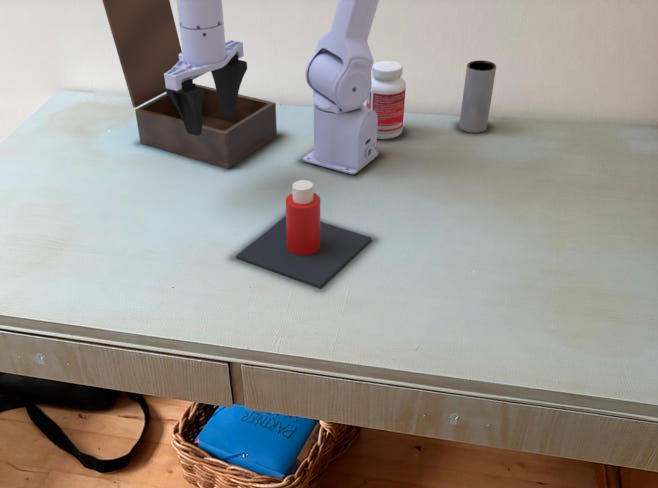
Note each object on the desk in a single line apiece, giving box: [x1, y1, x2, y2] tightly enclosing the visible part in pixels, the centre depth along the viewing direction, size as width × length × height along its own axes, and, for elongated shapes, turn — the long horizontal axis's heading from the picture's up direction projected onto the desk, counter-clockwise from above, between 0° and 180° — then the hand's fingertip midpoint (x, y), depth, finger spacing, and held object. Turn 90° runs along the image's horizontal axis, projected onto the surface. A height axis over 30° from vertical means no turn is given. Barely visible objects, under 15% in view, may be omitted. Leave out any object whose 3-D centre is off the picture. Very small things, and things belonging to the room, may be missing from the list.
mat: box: [235, 215, 372, 289], centre depth 99 cm, size 13×13×1 cm
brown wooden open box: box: [134, 83, 278, 170], centre depth 124 cm, size 19×14×6 cm
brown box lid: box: [101, 0, 183, 109], centre depth 121 cm, size 19×14×4 cm
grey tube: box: [459, 59, 497, 134], centre depth 122 cm, size 4×4×10 cm
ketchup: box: [285, 179, 321, 255], centre depth 96 cm, size 4×4×9 cm
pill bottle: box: [365, 60, 407, 140], centre depth 122 cm, size 6×6×11 cm
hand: (211, 123), depth 106 cm, fingers open, 7 cm apart
